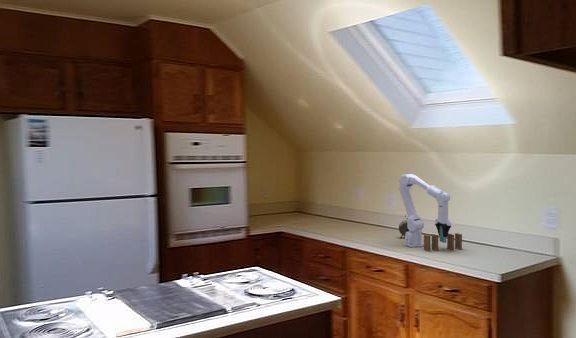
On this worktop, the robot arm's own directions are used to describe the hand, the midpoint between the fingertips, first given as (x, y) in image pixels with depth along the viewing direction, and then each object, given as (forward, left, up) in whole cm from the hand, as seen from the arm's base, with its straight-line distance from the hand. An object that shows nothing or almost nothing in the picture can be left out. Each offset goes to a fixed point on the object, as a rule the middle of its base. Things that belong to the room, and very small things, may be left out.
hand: (442, 236), depth 294 cm
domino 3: (+5, 0, -8) cm, 10 cm away
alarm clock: (-4, +39, -8) cm, 40 cm away
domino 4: (+10, 0, -8) cm, 13 cm away
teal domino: (0, 0, -3) cm, 3 cm away
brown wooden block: (-10, 0, -8) cm, 13 cm away
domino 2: (-5, 0, -8) cm, 10 cm away
